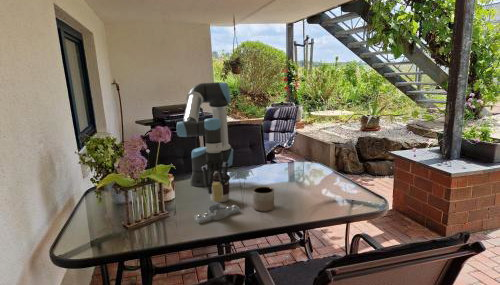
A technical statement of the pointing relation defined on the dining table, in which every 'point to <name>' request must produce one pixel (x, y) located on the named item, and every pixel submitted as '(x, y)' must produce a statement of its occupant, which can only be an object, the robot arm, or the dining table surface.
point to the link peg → (217, 191)
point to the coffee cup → (226, 187)
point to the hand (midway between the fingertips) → (216, 198)
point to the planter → (263, 198)
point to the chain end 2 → (227, 210)
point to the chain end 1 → (208, 215)
